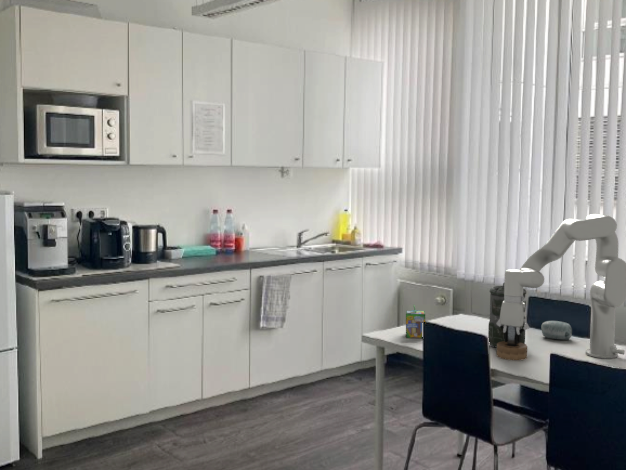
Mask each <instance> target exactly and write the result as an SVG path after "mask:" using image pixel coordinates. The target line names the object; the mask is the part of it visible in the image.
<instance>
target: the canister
mask: <svg viewBox="0 0 626 470" xmlns="http://www.w3.org/2000/svg"><path fill="white" fill-rule="evenodd" d="M504 283H505V282H503V283H502V285H497V286H493V287H491V288H489V293H490V296H489V321H488V337H487V339H488V338H489V342H490V345H489V346H490V347H493V348H494V349H495V348H497V343H499V342H504V341H505V339H504V332H503V330H502V329H501V328H500V327H499V326H498V325H497V324H496V323H497V322H498V320H499V319H500V312H501V306H502V302H503V301H504ZM526 295H527V290H526V289H525V288H523V297H524V298H526ZM523 303H525V307H526V308H527V300H526V301H523ZM521 328H524V326H522V327H521ZM520 343H524V344H526V330H525V331H523V332H522V333H521V341H520Z"/></svg>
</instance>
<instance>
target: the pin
mask: <svg viewBox="0 0 626 470" xmlns="http://www.w3.org/2000/svg"><path fill="white" fill-rule="evenodd" d="M516 334H517V331H516V327H514V326H511V325H510V326H508V332H507V346H514V347H515V346H517V344H516V343H515V336H516Z"/></svg>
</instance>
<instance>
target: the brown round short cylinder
mask: <svg viewBox="0 0 626 470" xmlns="http://www.w3.org/2000/svg"><path fill="white" fill-rule="evenodd" d="M496 357H497V358H499V359H502V360H506V361H507V360H508V361H523V360H526V359H527V358H528V345H527V343H525V344H524V343H518V344H517V346H515V347H514V346H507V342H505V341H504V342H499V343H497V347H496Z"/></svg>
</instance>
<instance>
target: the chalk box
mask: <svg viewBox="0 0 626 470" xmlns="http://www.w3.org/2000/svg"><path fill="white" fill-rule="evenodd" d="M412 305H413V309H414V310H408V309H407V310H406V312H405V338H406V339H407V338H408V339H413V338H416V339H423V338H422V323H423V322H425V323H426V310H416V306H415V304H412Z"/></svg>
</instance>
